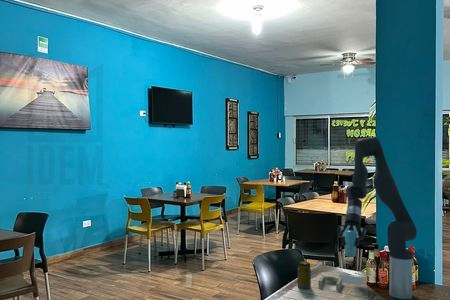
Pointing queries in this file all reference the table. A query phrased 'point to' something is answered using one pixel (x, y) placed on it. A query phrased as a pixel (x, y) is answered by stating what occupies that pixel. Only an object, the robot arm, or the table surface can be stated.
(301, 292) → the table surface
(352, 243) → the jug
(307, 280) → the condiment
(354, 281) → the mat
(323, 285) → the holder
